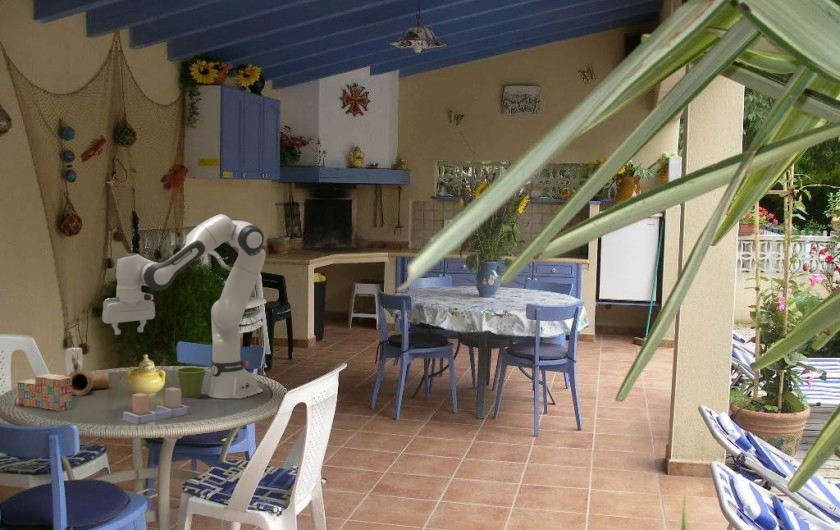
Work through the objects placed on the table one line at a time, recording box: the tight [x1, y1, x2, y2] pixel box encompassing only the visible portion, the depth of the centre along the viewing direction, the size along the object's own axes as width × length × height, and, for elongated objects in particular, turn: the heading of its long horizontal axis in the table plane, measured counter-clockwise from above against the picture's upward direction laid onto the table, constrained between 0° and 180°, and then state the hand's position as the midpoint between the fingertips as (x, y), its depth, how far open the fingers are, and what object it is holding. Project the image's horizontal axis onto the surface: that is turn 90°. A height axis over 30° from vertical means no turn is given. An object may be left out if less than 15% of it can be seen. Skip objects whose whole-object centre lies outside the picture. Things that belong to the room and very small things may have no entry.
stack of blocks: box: [17, 373, 73, 412], centre depth 341 cm, size 21×6×12 cm, turn 66°
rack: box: [122, 403, 192, 425], centre depth 325 cm, size 22×10×4 cm, turn 139°
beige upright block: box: [164, 386, 182, 409], centre depth 330 cm, size 4×5×9 cm
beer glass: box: [64, 347, 84, 376], centre depth 383 cm, size 7×7×15 cm
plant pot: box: [175, 366, 207, 399], centre depth 360 cm, size 12×12×11 cm
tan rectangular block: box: [131, 392, 150, 416], centre depth 320 cm, size 4×5×9 cm
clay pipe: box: [67, 369, 111, 397], centre depth 367 cm, size 19×11×15 cm
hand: (129, 333), depth 337 cm, fingers open, 8 cm apart
